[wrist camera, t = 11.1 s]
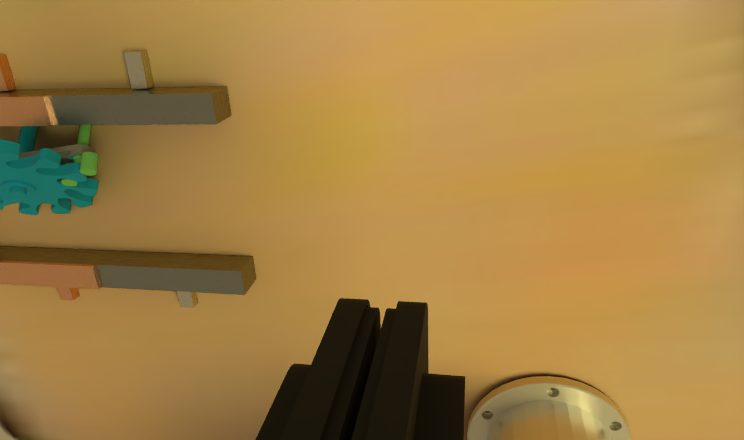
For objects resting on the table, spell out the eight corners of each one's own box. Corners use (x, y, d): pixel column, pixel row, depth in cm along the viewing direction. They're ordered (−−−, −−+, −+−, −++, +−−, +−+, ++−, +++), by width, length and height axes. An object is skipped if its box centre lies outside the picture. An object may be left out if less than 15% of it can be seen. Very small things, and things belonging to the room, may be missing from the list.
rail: (260, 305, 44) (246, 327, 42) (2, 291, 49) (-26, 309, 46) (221, 47, 36) (200, 54, 34) (-84, 57, 41) (-124, 63, 38)
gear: (5, 229, 44) (-115, 172, 34) (16, 163, 46) (-93, 93, 37) (137, 210, 43) (49, 146, 33) (142, 143, 45) (62, 67, 36)
